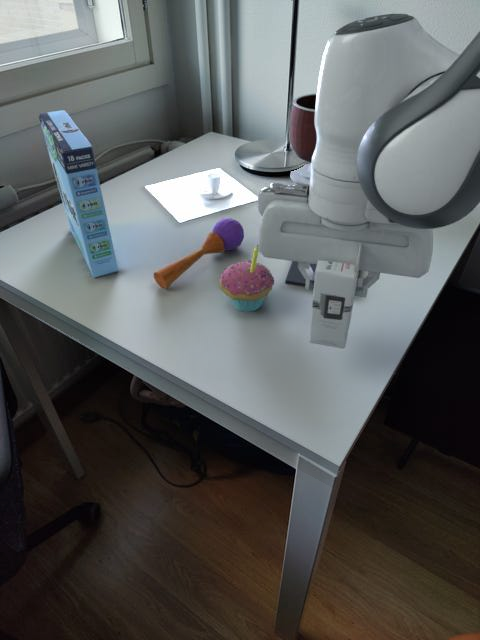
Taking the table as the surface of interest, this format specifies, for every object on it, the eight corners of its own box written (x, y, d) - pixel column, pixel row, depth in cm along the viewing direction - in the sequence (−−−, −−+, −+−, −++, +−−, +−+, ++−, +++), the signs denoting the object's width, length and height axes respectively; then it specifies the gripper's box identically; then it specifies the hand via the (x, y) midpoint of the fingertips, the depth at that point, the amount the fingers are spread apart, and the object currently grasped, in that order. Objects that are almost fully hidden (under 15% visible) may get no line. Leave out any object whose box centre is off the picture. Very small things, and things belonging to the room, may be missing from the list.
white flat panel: (203, 204, 102) (202, 187, 99) (188, 191, 107) (186, 174, 105) (238, 195, 105) (237, 178, 103) (221, 182, 111) (220, 165, 108)
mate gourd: (343, 191, 106) (356, 98, 93) (283, 186, 108) (287, 95, 95) (345, 164, 117) (357, 78, 104) (291, 160, 120) (296, 75, 106)
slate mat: (362, 250, 88) (363, 247, 87) (355, 294, 78) (355, 291, 77) (300, 241, 90) (300, 239, 90) (285, 283, 80) (285, 280, 80)
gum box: (70, 229, 95) (35, 113, 80) (94, 223, 97) (65, 108, 82) (93, 279, 82) (57, 151, 67) (121, 271, 84) (92, 145, 69)
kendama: (144, 261, 79) (224, 210, 89) (155, 290, 82) (231, 237, 92) (165, 269, 75) (246, 215, 85) (176, 299, 79) (253, 243, 88)
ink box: (318, 304, 67) (328, 212, 58) (352, 309, 66) (368, 217, 57) (307, 343, 61) (316, 248, 52) (345, 350, 60) (361, 254, 50)
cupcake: (281, 297, 77) (285, 235, 69) (255, 326, 72) (256, 263, 64) (238, 281, 81) (237, 220, 73) (210, 308, 75) (205, 245, 67)
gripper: (250, 193, 51) (252, 293, 60) (448, 214, 46) (417, 318, 55) (264, 170, 55) (264, 266, 64) (445, 186, 51) (417, 287, 60)
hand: (336, 290), depth 60 cm, fingers closed on ink box, 5 cm apart
